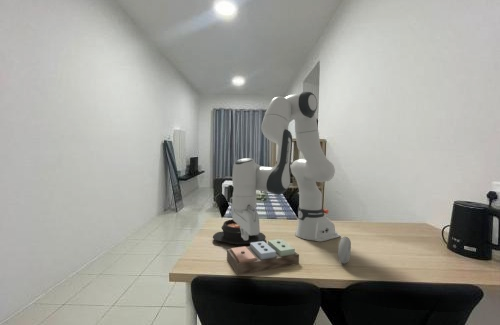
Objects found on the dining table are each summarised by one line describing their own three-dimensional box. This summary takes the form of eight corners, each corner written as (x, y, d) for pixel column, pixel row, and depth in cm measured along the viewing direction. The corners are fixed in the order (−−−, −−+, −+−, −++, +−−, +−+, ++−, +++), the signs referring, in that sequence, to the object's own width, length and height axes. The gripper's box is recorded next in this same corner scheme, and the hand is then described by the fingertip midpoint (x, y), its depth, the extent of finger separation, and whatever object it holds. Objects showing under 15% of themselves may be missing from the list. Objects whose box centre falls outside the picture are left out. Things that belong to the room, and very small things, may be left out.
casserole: (209, 247, 105) (210, 228, 105) (215, 233, 124) (215, 217, 123) (267, 248, 105) (267, 229, 105) (264, 234, 124) (264, 217, 123)
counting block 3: (280, 246, 102) (280, 238, 102) (294, 257, 92) (294, 248, 92) (267, 248, 100) (268, 239, 100) (280, 259, 90) (280, 250, 89)
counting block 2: (263, 248, 99) (263, 240, 99) (275, 260, 89) (275, 250, 89) (249, 250, 97) (250, 242, 97) (260, 262, 87) (261, 252, 87)
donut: (346, 269, 88) (347, 242, 87) (336, 266, 90) (337, 240, 89) (351, 259, 96) (352, 234, 96) (342, 256, 98) (343, 232, 98)
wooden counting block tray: (281, 250, 104) (282, 242, 104) (298, 263, 91) (299, 254, 91) (226, 258, 95) (227, 249, 95) (237, 274, 82) (237, 264, 82)
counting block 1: (245, 254, 96) (245, 245, 96) (255, 266, 86) (255, 256, 86) (230, 256, 94) (230, 247, 94) (239, 269, 84) (239, 259, 84)
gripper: (264, 208, 81) (264, 248, 81) (243, 196, 100) (243, 229, 100) (246, 209, 78) (246, 251, 79) (228, 197, 97) (229, 231, 98)
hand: (244, 239), depth 90 cm, fingers closed
